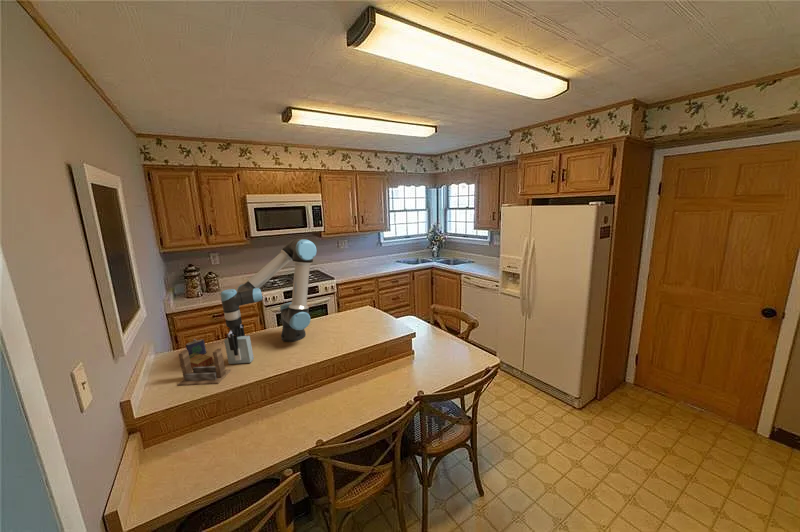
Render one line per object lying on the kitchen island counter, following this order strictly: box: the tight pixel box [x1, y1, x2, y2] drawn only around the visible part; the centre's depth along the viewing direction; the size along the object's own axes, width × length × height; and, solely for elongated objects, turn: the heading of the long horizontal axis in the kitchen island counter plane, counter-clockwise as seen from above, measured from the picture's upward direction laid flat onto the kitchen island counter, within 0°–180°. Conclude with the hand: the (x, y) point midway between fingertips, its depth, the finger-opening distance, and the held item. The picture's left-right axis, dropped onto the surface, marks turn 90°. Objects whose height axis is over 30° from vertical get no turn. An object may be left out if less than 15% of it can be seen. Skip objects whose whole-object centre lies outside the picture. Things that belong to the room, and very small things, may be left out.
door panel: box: [223, 335, 255, 365], centre depth 168 cm, size 12×4×14 cm, turn 90°
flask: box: [185, 338, 207, 355], centre depth 179 cm, size 9×3×11 cm, turn 138°
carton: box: [189, 353, 214, 368], centre depth 171 cm, size 8×16×4 cm, turn 65°
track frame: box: [177, 348, 232, 387], centre depth 155 cm, size 20×12×15 cm, turn 90°
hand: (240, 357), depth 169 cm, fingers closed on door panel, 4 cm apart
